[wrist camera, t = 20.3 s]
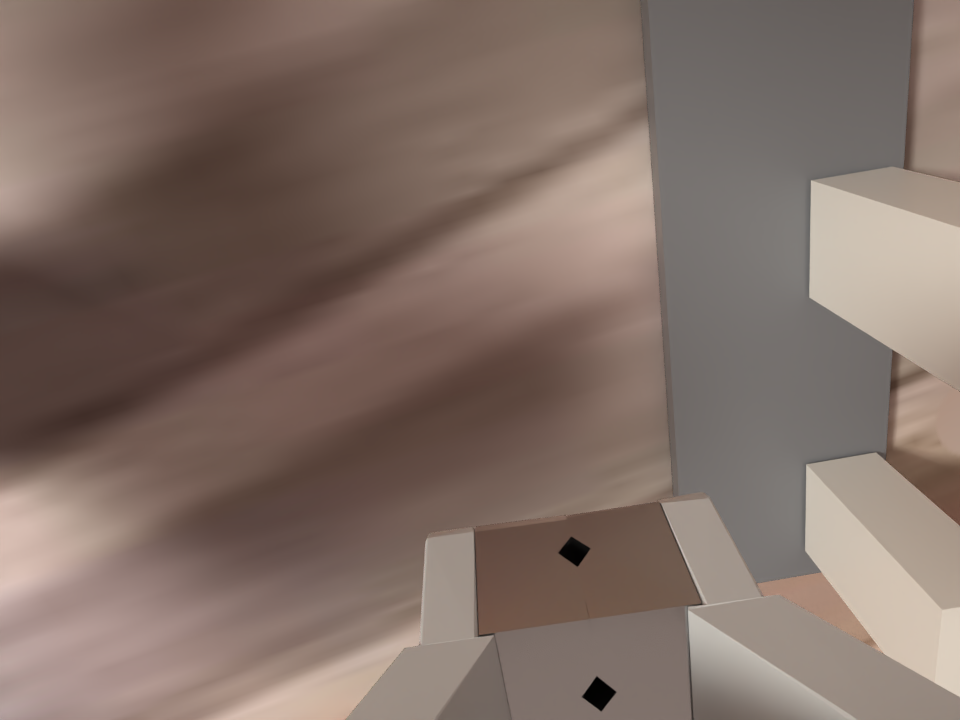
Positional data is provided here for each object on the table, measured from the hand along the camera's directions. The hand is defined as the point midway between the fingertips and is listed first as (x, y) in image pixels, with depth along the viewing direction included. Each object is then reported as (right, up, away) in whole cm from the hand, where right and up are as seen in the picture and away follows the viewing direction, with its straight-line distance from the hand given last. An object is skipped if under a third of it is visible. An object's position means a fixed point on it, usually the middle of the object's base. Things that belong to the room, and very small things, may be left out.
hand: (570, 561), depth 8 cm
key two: (+18, +9, +29) cm, 35 cm away
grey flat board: (+14, +8, +30) cm, 34 cm away
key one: (+20, -6, +35) cm, 41 cm away
